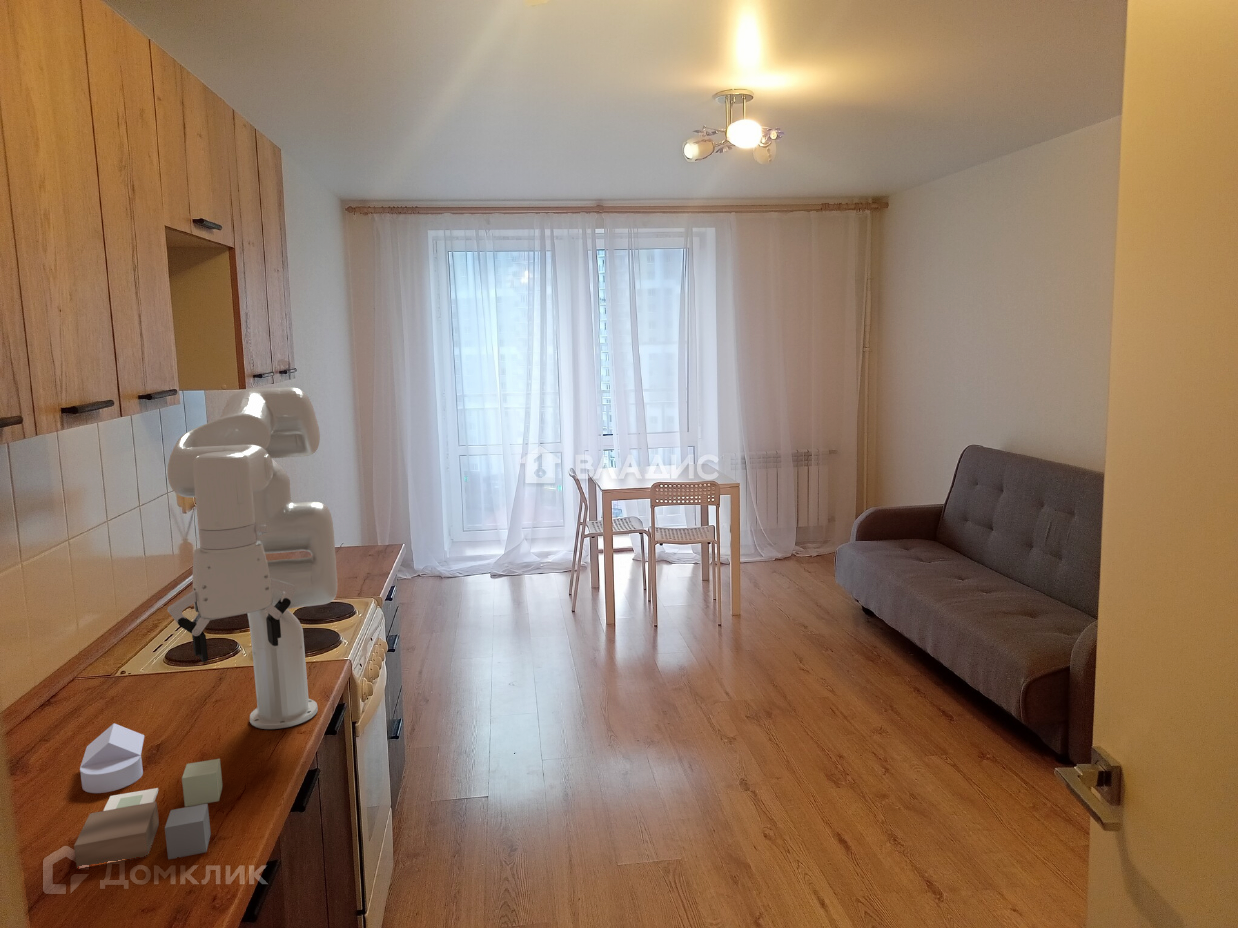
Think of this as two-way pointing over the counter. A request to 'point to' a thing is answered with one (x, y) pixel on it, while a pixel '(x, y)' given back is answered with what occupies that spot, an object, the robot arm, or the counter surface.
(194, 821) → the charcoal cube
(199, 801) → the sage cube
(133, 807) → the taupe block
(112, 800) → the tile
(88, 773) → the wedge on round base
